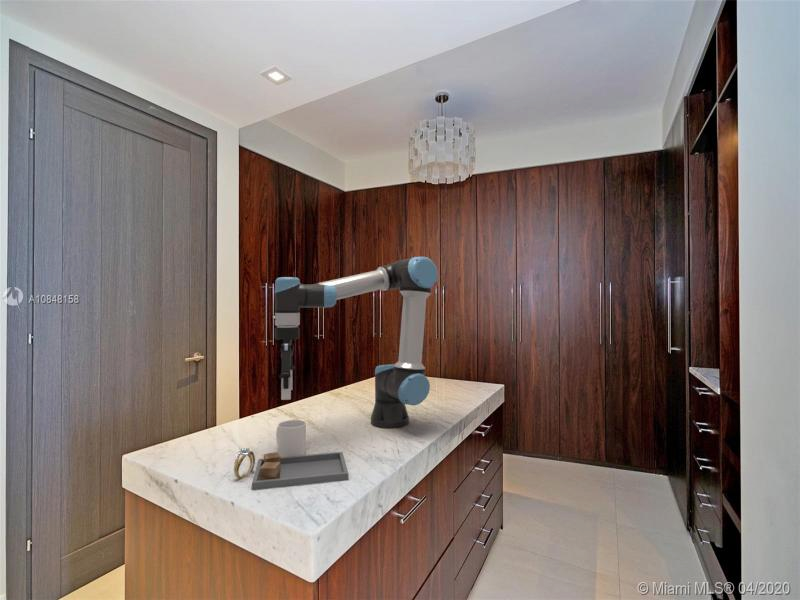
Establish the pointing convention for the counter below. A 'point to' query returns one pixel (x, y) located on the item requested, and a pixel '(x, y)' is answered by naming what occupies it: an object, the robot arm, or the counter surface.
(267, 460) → the block
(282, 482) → the tray
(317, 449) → the counter surface
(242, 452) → the ring
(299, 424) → the cup
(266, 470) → the block
